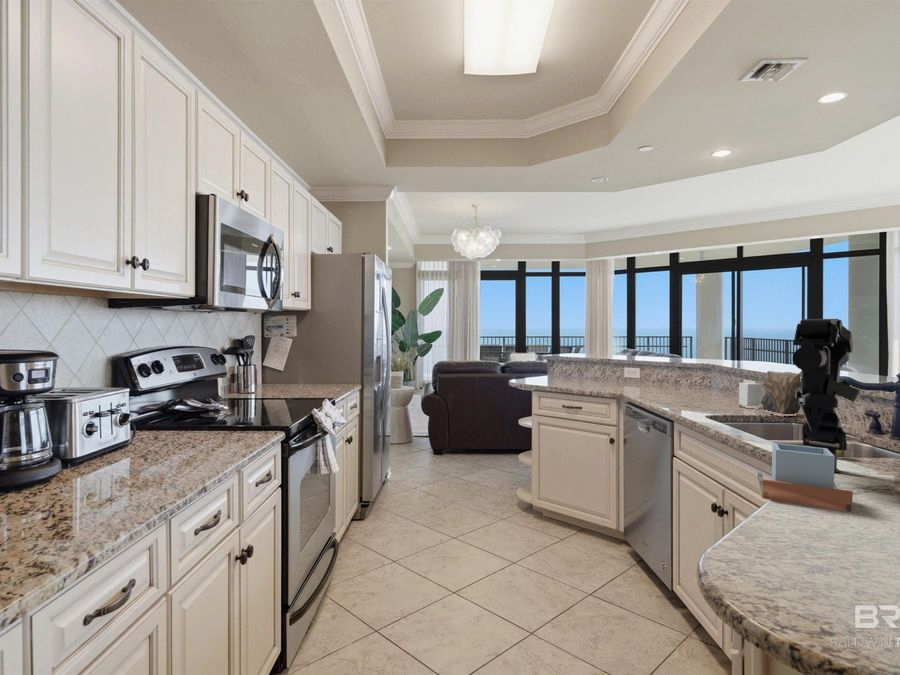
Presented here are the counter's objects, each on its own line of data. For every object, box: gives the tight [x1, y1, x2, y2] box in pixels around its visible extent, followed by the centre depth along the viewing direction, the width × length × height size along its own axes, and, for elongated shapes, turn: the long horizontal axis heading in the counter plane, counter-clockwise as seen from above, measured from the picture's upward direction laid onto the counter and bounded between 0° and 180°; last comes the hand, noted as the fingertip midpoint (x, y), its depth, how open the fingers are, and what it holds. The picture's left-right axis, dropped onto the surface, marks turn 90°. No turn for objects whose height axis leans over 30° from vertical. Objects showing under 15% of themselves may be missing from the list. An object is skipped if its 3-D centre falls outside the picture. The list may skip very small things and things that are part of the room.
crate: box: [771, 442, 835, 489], centre depth 106 cm, size 8×10×10 cm
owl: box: [761, 370, 801, 414], centre depth 227 cm, size 13×13×20 cm
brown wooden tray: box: [757, 471, 854, 512], centre depth 108 cm, size 18×15×5 cm
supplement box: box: [738, 382, 763, 406], centre depth 248 cm, size 7×7×13 cm
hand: (813, 431), depth 122 cm, fingers closed
